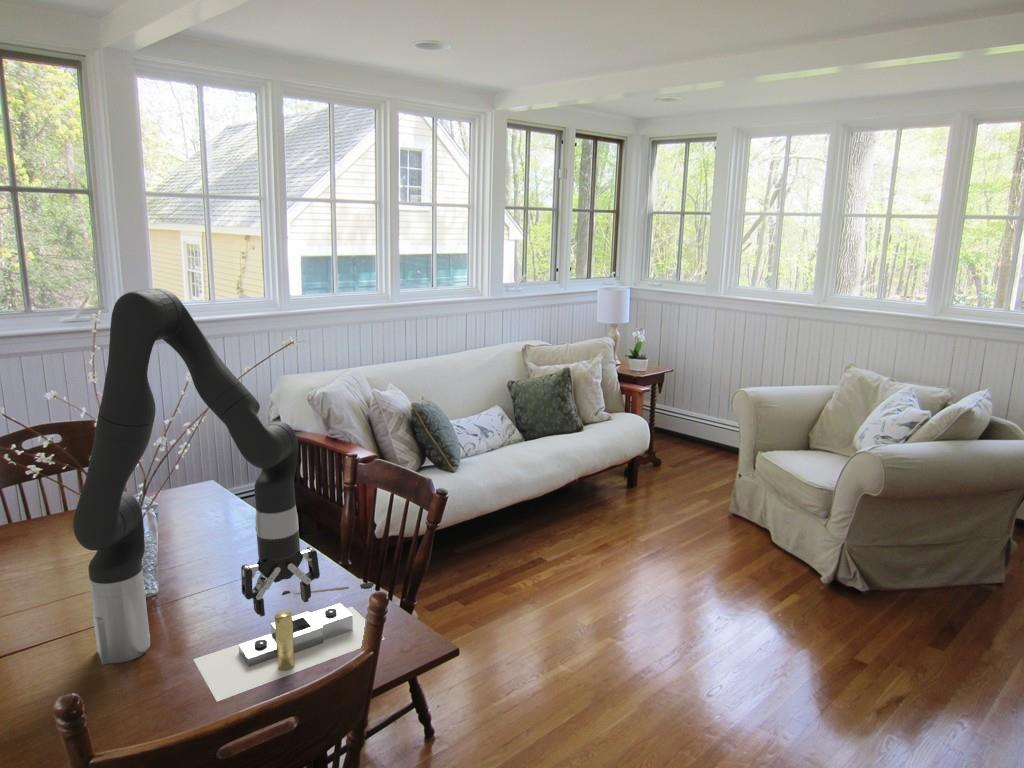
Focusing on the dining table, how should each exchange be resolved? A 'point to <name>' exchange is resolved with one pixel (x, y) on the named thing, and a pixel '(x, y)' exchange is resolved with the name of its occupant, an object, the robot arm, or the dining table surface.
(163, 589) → the dining table surface
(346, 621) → the slotted stepped fixture
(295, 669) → the mat
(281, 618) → the brass pin
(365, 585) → the tactical pry hammer
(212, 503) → the dining table surface
